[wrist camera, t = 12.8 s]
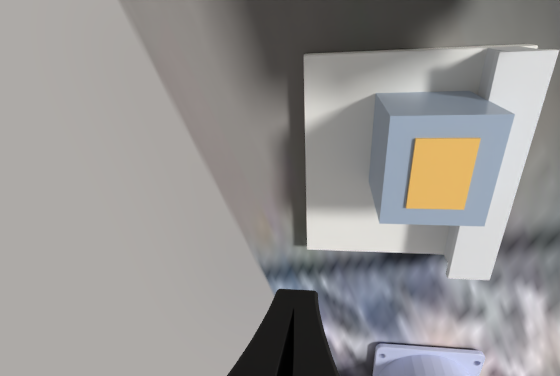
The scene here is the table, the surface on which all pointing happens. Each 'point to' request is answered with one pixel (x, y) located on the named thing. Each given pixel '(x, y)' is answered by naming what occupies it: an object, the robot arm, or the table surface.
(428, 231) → the rail board
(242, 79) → the table surface
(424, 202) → the block
